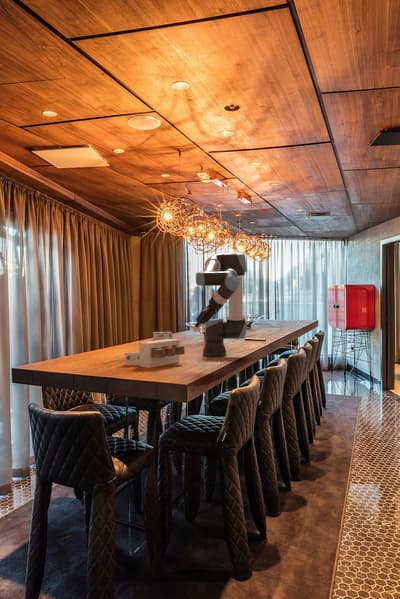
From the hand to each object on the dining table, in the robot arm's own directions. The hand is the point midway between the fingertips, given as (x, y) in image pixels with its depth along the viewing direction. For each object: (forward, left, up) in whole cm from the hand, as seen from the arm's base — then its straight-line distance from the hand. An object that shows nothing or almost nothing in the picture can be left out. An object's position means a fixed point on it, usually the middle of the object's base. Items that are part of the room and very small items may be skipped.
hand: (194, 330), depth 254 cm
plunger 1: (+21, -4, -14) cm, 25 cm away
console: (+16, -12, -19) cm, 28 cm away
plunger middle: (+14, -8, -14) cm, 21 cm away
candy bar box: (+9, -30, -20) cm, 37 cm away
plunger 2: (+7, -12, -14) cm, 20 cm away
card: (+30, -15, -19) cm, 39 cm away
